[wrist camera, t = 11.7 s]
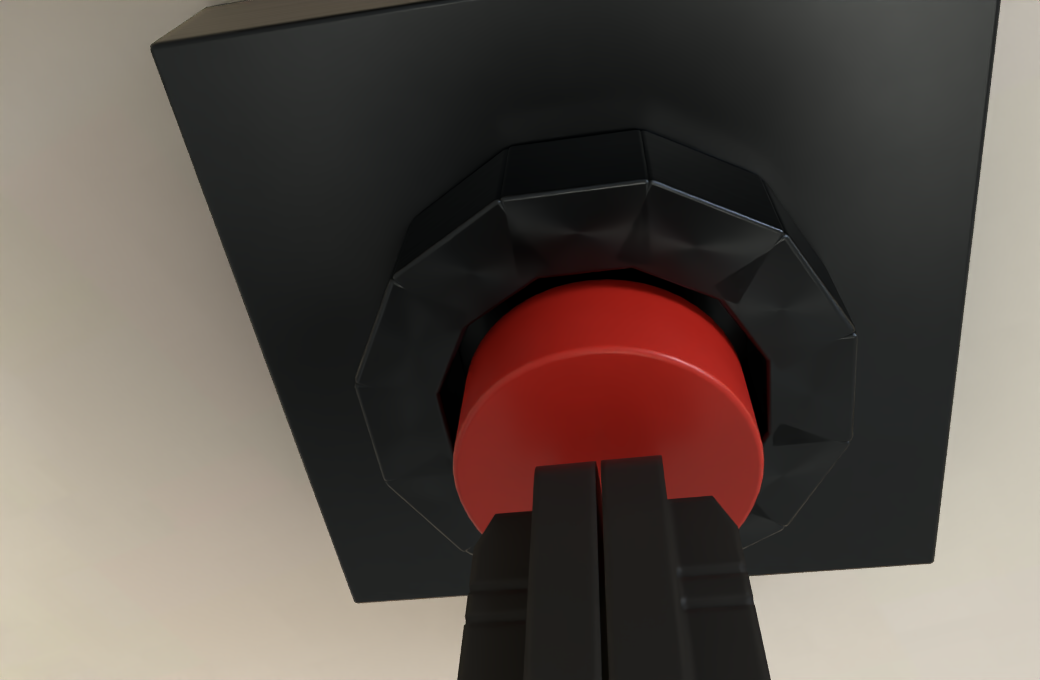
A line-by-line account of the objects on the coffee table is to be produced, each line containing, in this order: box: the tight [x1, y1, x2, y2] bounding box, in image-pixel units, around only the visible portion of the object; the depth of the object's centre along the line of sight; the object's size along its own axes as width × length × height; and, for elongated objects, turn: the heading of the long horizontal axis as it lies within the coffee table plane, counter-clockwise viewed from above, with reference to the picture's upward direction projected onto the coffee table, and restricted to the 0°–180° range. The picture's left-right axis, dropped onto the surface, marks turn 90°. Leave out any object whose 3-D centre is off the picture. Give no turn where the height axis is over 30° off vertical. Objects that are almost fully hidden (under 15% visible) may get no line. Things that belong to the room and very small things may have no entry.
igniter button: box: [453, 279, 764, 534], centre depth 12 cm, size 4×4×2 cm
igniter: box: [150, 0, 1001, 603], centre depth 14 cm, size 11×11×4 cm
